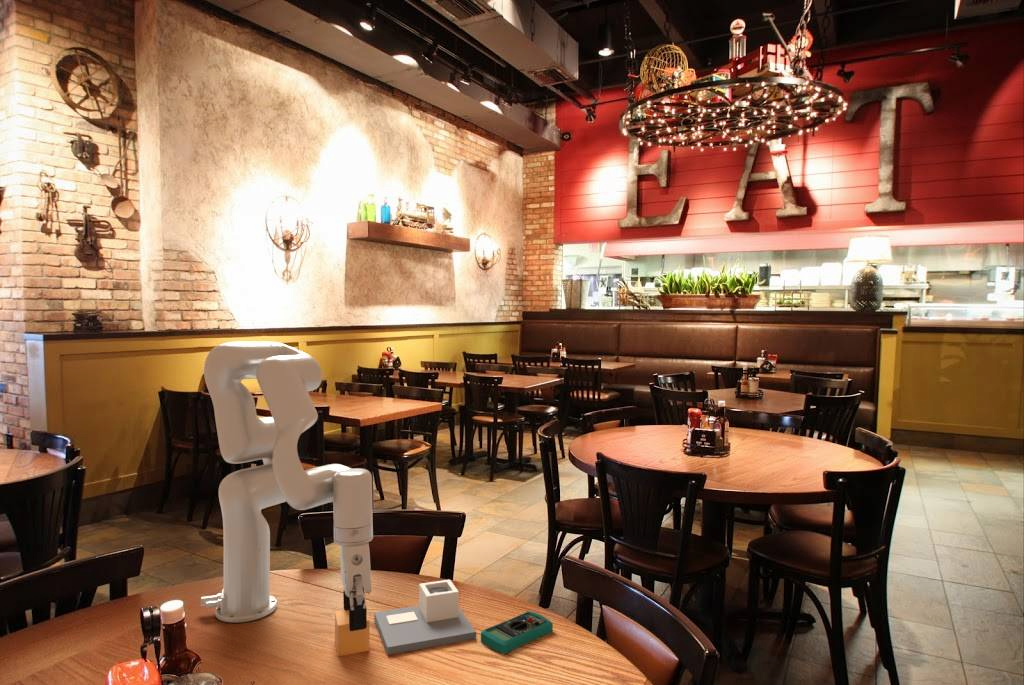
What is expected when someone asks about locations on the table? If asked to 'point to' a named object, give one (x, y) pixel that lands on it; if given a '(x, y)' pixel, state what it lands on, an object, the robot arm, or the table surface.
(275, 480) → the robot arm
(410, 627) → the board
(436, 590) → the breaker button
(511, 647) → the digital multimeter
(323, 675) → the table surface
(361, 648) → the orange foam cube
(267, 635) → the table surface
